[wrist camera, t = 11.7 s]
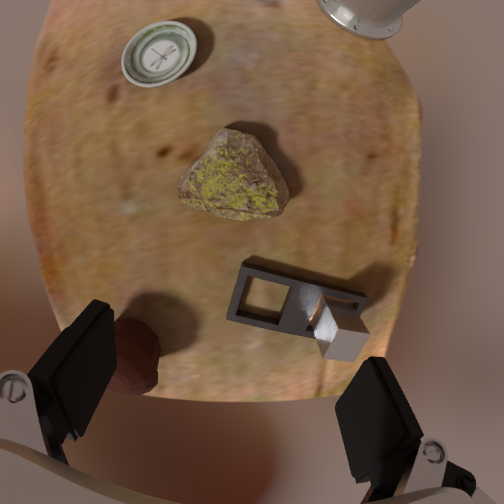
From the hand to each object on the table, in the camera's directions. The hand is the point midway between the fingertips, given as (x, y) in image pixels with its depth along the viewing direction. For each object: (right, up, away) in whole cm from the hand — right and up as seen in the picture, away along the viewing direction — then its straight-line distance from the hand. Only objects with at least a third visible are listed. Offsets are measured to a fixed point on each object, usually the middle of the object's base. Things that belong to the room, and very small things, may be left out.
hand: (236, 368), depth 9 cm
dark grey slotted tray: (+7, -3, +28) cm, 29 cm away
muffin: (-18, -10, +30) cm, 37 cm away
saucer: (-11, +28, +17) cm, 35 cm away
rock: (-2, +13, +23) cm, 26 cm away
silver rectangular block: (+12, -4, +28) cm, 31 cm away
